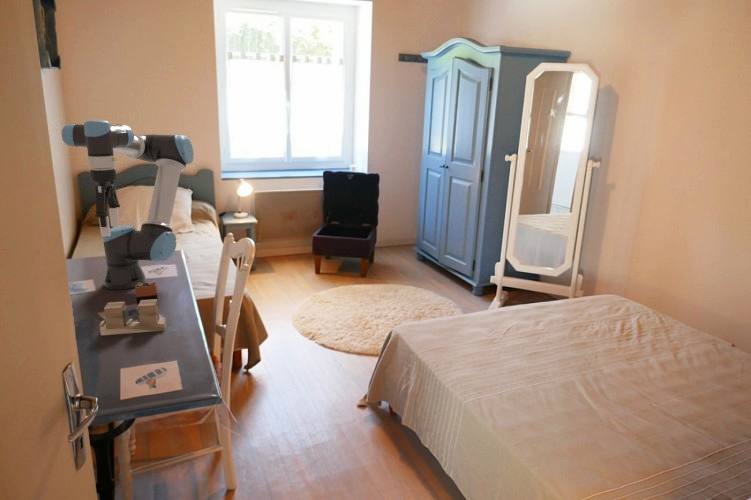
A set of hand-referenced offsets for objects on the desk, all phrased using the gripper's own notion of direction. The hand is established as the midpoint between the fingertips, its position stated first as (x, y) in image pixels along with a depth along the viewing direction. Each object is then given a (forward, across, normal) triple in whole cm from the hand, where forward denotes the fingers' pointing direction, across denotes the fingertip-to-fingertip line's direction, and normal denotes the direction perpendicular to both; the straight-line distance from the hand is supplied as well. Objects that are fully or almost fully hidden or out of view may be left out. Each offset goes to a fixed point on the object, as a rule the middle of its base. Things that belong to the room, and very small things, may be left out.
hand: (110, 231), depth 177 cm
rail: (+29, -20, -8) cm, 36 cm away
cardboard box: (+26, -20, -3) cm, 33 cm away
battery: (+29, -1, -9) cm, 30 cm away
